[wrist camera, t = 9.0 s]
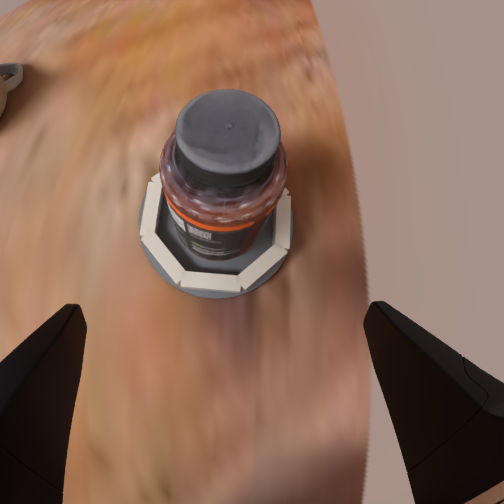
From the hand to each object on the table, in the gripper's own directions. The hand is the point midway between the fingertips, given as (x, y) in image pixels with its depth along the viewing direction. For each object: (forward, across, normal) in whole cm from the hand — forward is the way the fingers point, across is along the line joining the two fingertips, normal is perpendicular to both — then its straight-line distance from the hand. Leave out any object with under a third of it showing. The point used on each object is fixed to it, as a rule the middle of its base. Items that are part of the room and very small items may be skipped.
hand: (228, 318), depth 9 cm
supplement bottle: (+13, 0, +4) cm, 14 cm away
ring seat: (+14, 0, +4) cm, 14 cm away
